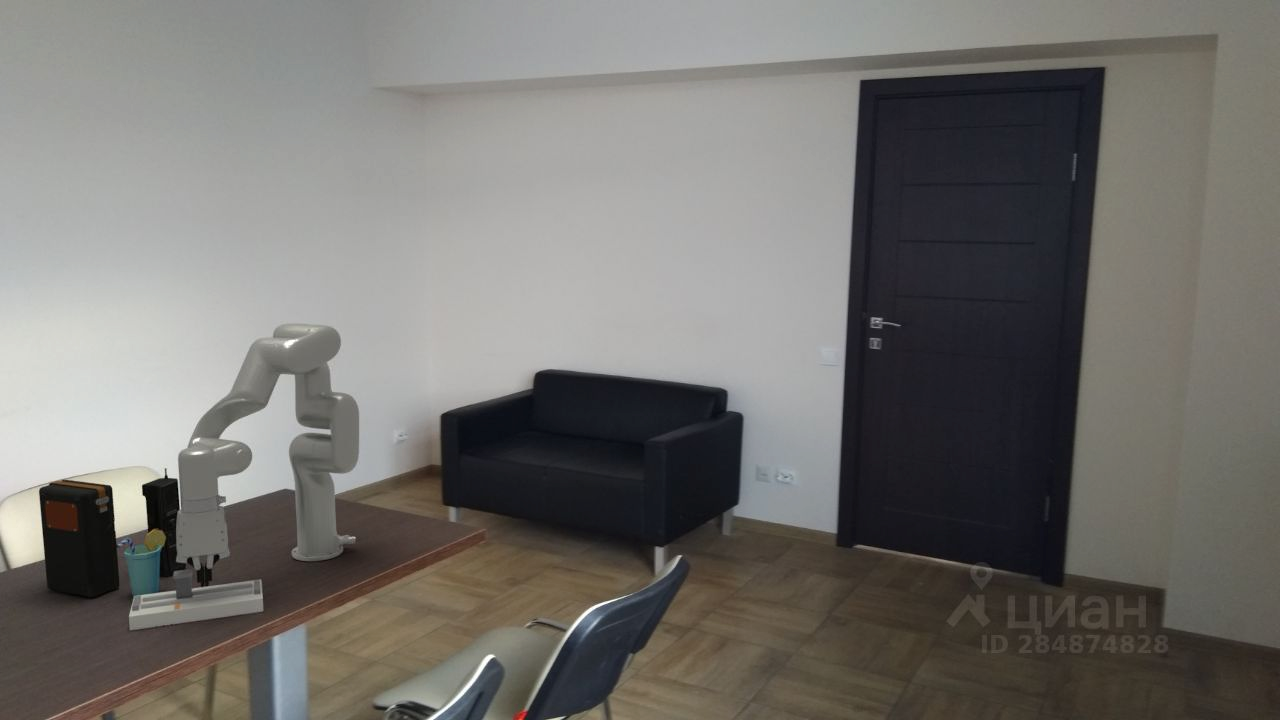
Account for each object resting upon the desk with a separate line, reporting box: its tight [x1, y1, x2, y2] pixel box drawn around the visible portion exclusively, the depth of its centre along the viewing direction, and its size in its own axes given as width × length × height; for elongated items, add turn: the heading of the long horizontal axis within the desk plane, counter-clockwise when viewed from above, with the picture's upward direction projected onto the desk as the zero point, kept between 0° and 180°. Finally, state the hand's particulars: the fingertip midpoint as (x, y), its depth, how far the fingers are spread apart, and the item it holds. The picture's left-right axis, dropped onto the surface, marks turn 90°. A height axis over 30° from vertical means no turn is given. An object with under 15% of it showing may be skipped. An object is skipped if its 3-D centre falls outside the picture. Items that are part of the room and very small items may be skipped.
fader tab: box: [172, 568, 193, 599], centre depth 207 cm, size 4×3×6 cm
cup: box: [116, 529, 166, 598], centre depth 216 cm, size 14×8×15 cm, turn 171°
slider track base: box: [128, 579, 264, 631], centre depth 209 cm, size 26×12×4 cm, turn 113°
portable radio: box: [141, 468, 187, 577], centre depth 230 cm, size 8×6×25 cm
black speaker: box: [38, 479, 121, 598], centre depth 218 cm, size 16×9×25 cm, turn 71°
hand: (204, 584), depth 209 cm, fingers closed
